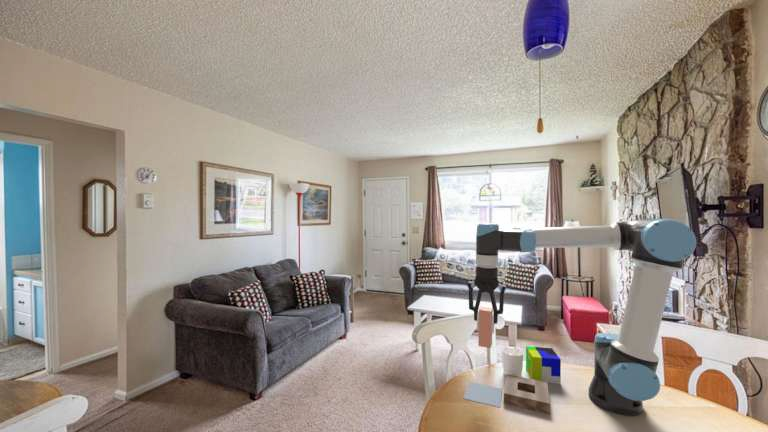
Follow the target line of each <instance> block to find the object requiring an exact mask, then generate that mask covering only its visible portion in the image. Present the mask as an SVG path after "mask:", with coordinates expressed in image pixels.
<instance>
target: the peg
mask: <svg viewBox="0 0 768 432" xmlns="http://www.w3.org/2000/svg"><path fill="white" fill-rule="evenodd" d="M478 311H479V331H478V344H477V345H478V347H480V348H487V349H492V345H493V333H491V321H492V313H493V308H492V307H485V306H479V309H478Z"/></svg>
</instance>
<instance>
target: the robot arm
mask: <svg viewBox="0 0 768 432" xmlns="http://www.w3.org/2000/svg"><path fill="white" fill-rule="evenodd" d="M475 237H476V239H475V240H476V241H475V242H476V243H475V245H476V246H475V265H476V266H475V278H474V279H473V280H472V281H468V282H467V284H466V286H467V288H468V309H469V310H470V311H473V320H474V321H475V322H476V331H477V332H479V309H480V306H481V305H480V304H481V300H482V296H483V293H487V294H489V297H490V301H491V306H492V307H491V308H493V313H492V321H491V333H492V334H494V332H495V324H496V325H497V324H498V322H499V320H498V319H499V318H498V315H503V313H504V305H505V304H504V302H505V291H506V289H507V285H505V284H502V283H500V281H499V278H498V277H499V276H498V274H499V269H498V266H499V251H502V252H503V251H506V252H515V253H516V252H517V253H519V252H521V253H534V252H535V251H536V250H537V249H539V248H541V249H542V248H544V249H546V248H547V249H548V248H549V249H550V248H551V249H552V248H553V249H554V248H561V249H562V248H565V249H566V248H567V249H568V248H571V249H572V248H612V249H614V250H616V251H629V252H630V251H631V256H630V260H631V261H632V262H633V263H634V265H635V267H634V271H633V275H632V280H631V282H630V283H631V284H630V286H629V287H630V288H629V291H628V296H627V300H626V304H625V308H624V313H623V317H622V320H621V325H620V329H619V334H616V333H610V332H609V333H608V332H601V333H600V332H599V333H596V334H595V336H594V341H593V343H594V373H593V374H594V375H593V377H592V379H591V382H590V383H589V386H588V398H589V399H590V400H591V401H592V402H593V403H594V404H596V405H597V406H599V407H601V408H602V409H605V410H607V411H609V412H612V413H615V414H618V415H624V416H639V415H641V414H642V413H643V411H644V405H643V402H645V401H648V400H652V399H654V398H655V397H656V396H657V395H658V394H659V392H660V391H661V382H660V379H659V376H658V374H657V369H658V366H659V361H660V358H659V356H658V355H657V354H656V353H655V347H656V344H657V341H658V336H659V333H660V328H661V324H662V318H663V316H664V311H665V308H666V303H667V298H668V295H669V291H670V288H671V287H670V286H671V282H672V279H673V276H674V273H676V272H679V271H681V270H682V269H683V265H684V260H685V259H687V258H689V257H690V256H692V254H693V253H694V252H695V249H696V247H697V238H696V235H695V233H694V232H693V230H692V229H691V228H690V227H689V226H688V225H687V224H685V223H683V222H681V221H679V220H675V219H672V218H662V217H661V218H642V219H637V220H636V219H635V220H630V221H618V222H612V223H611V224H609V225H582V226H560V227H559V226H556V227H555V226H554V227H553V226H551V227H527V228H525V227H524V228H522V227H521V228H520V227H515V228H512V229H502V228H500V226H499V224H498V223H488V222H487V223H479V224H477V226H476V235H475ZM536 248H537V249H536ZM475 286H476V288H477V289H478V293H477V296H476V301H475V305H474V287H475ZM497 288H498V291H500V292H499V308H498V305H497V300H496V295H495V290H496V289H497Z"/></svg>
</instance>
